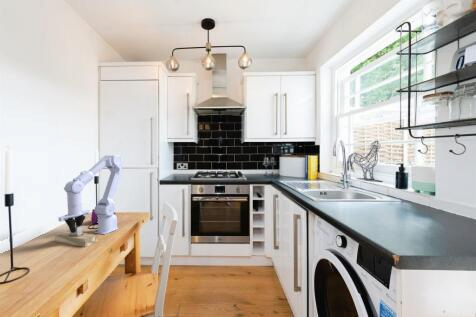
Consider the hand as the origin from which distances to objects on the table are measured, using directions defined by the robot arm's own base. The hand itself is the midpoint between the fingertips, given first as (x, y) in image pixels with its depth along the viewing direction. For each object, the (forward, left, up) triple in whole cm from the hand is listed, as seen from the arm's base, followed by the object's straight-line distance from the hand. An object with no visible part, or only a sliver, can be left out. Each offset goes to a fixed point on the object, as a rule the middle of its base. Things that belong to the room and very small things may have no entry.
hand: (75, 231), depth 118 cm
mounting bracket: (-32, -19, -6) cm, 38 cm away
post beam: (0, 0, -5) cm, 5 cm away
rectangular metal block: (0, 0, -5) cm, 5 cm away
